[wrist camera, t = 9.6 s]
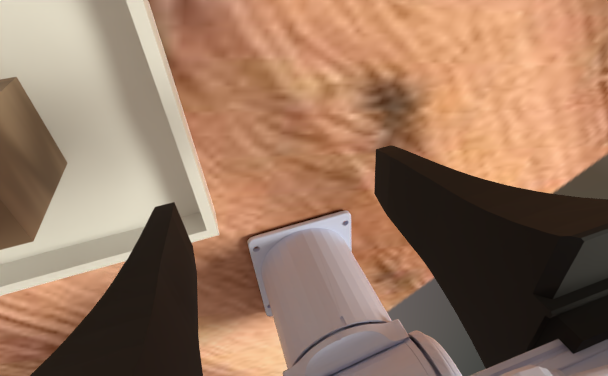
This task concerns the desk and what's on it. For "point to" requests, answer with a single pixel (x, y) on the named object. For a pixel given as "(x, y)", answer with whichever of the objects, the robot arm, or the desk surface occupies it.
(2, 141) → the walnut block
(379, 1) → the desk surface
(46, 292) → the desk surface
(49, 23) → the tray
